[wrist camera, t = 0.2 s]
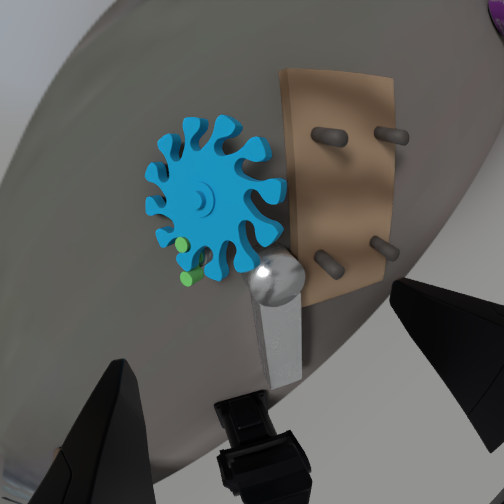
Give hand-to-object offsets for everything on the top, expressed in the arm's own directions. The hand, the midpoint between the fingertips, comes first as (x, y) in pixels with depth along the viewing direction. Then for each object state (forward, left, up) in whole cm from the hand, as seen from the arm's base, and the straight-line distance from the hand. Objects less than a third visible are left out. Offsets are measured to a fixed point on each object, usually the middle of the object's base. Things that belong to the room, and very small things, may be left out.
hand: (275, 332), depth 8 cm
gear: (+1, 0, -15) cm, 15 cm away
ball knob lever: (-12, -4, -14) cm, 19 cm away
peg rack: (-1, -12, -14) cm, 18 cm away
